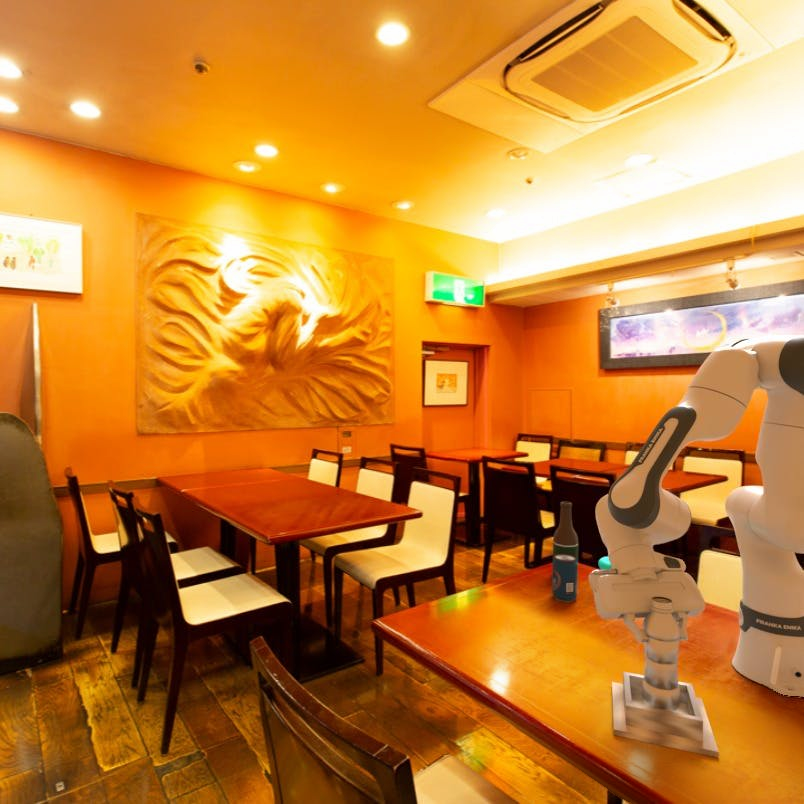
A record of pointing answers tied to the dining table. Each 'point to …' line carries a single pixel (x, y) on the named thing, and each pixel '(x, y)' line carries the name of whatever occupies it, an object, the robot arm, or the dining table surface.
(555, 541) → the beer bottle
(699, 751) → the bottle holder
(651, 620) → the plastic bottle
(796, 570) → the robot arm
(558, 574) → the soda can
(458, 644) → the dining table surface
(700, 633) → the dining table surface
